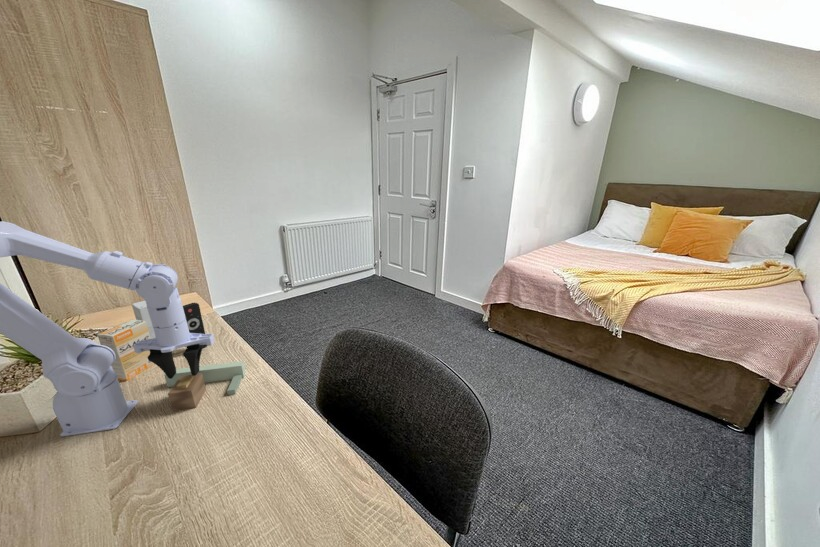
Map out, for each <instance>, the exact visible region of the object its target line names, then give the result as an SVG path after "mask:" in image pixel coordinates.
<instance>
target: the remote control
mask: <svg viewBox="0 0 820 547" xmlns="http://www.w3.org/2000/svg"><path fill="white" fill-rule="evenodd" d="M182 306H183V310H184V313H185V317H186V321H187V325H188V329H189V332H190V333H198V334H206V331H205V327H204V322H203V321H204V320H203V317H202V313H201V308H200V307H201V306H200V304H199V303H198V302H191V303H188V304H185V305H182ZM207 347H208V346H207V345H203V348H202V350H203V349H205V348H207Z"/></svg>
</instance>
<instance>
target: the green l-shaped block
mask: <svg viewBox="0 0 820 547" xmlns="http://www.w3.org/2000/svg"><path fill="white" fill-rule="evenodd" d="M245 373H246V374H247V372H246V365H245V361H244V360H242V361H241V360H239V361H232V362H225V363H224V362H222V363H216V364H208V365H207V364H206V365H205V364H204V365H199V372H198V373H197V374H202V375H203V379H204V383H212V382H214V383H215V382H221V381H229V380H231V381H230V384H229V386H228V388H227V390H226V393H227V396H233V395H236V394H237V391H238V390H239V387H240V385H241V383H242V380H241V379H244V378H245V377H246V374H245ZM185 375H192V374H191V371H190V367H189V366H188V367H181V368H176V374H175V375H174V377H173V378H171V379H169V378H168V377H167V375H166V374H165V373H164V374H163V376H164V379H165V383H166V385H167V388H172V387H173V386H174V384H175V383H176V382H177V380H178V379H179V377H180V376H185Z"/></svg>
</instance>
